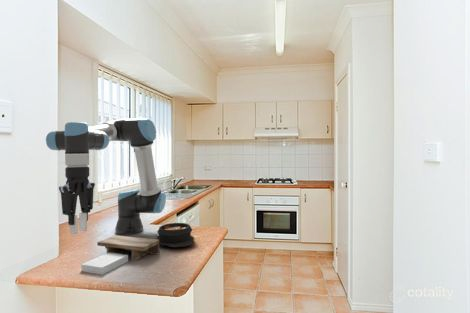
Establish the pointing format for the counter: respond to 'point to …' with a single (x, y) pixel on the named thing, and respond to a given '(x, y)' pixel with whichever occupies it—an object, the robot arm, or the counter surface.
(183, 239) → the casserole
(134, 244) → the low shelf
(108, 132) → the robot arm
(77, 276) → the counter surface
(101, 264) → the plastic case
